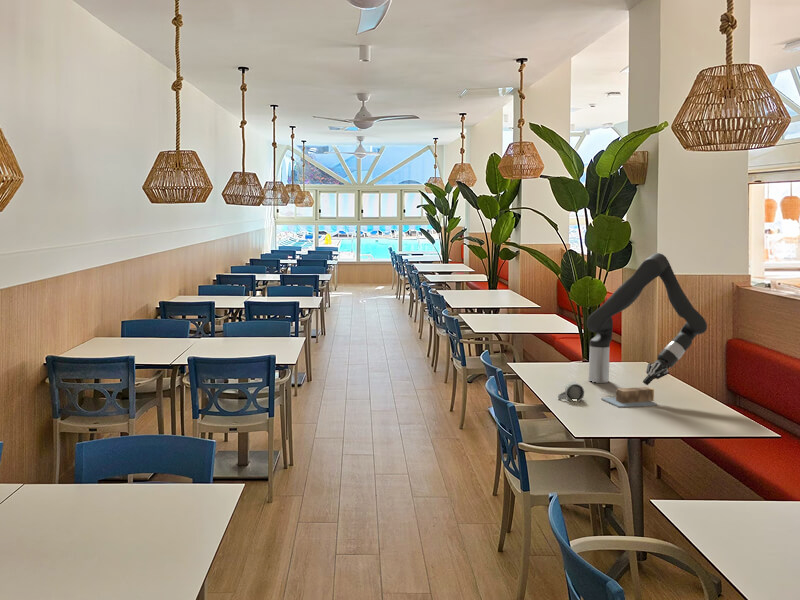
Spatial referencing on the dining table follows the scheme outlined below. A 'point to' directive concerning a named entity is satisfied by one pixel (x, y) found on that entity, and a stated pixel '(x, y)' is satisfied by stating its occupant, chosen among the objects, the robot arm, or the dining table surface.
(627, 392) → the walnut block
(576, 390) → the ceramic mug
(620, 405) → the slate mat
